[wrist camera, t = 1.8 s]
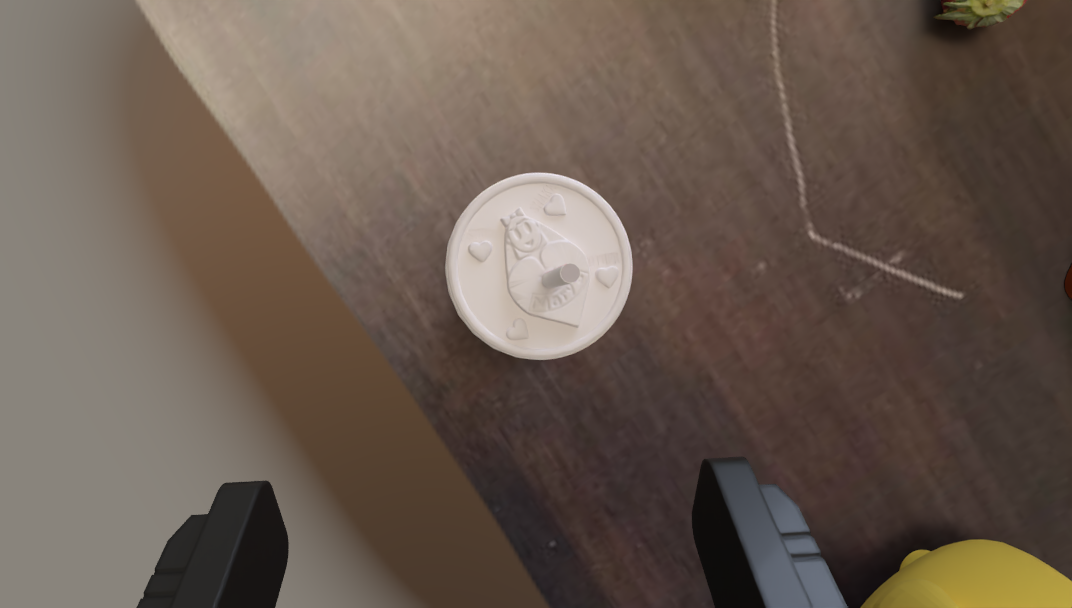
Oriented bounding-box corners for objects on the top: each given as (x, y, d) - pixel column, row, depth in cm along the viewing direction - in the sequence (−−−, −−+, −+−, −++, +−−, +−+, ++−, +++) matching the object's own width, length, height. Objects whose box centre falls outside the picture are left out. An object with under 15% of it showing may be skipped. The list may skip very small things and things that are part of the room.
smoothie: (495, 371, 31) (519, 420, 18) (424, 255, 31) (392, 211, 17) (608, 301, 32) (718, 296, 18) (540, 187, 32) (599, 92, 18)
